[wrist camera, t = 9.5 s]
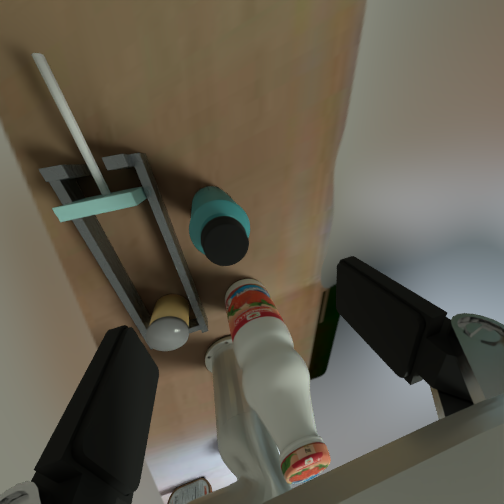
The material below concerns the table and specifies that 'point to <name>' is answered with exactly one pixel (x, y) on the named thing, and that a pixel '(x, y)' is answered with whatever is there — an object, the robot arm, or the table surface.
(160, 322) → the jar
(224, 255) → the beverage bottle
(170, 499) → the tin
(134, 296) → the lane
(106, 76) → the table surface
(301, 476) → the fruit juice
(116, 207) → the pusher
